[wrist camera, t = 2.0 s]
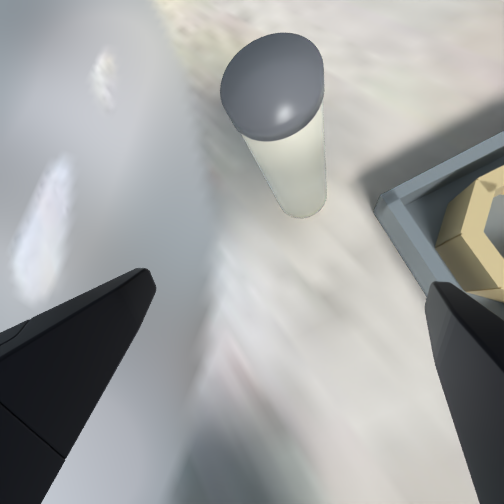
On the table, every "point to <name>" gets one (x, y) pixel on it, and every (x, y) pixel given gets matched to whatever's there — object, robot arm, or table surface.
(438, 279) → the walled box
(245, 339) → the table surface
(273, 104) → the cream and grey cylinder
